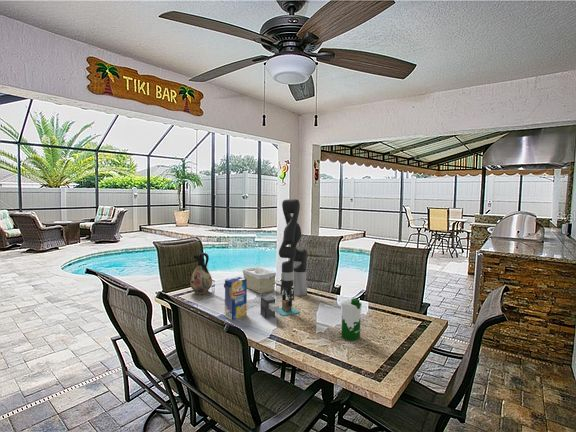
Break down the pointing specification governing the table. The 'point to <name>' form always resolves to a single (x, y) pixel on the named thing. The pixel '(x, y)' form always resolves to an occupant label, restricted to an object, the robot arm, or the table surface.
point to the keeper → (264, 309)
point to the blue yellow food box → (235, 298)
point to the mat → (287, 312)
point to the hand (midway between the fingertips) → (287, 304)
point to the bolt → (272, 306)
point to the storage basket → (260, 279)
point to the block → (286, 306)
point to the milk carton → (351, 319)
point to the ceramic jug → (201, 275)
